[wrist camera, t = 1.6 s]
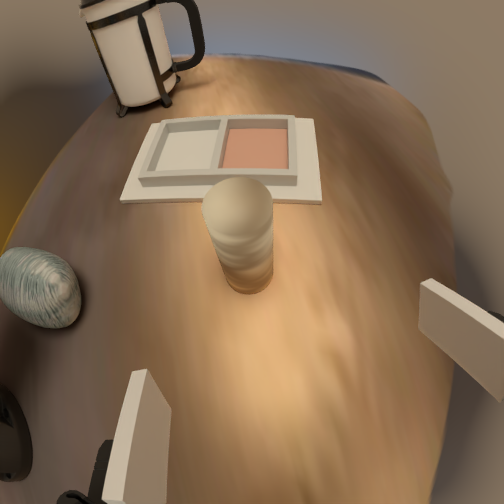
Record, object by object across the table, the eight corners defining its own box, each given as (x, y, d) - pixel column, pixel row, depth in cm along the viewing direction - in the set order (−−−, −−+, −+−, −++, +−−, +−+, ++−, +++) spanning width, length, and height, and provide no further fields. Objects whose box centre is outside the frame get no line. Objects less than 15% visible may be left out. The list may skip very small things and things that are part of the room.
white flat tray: (121, 203, 36) (113, 191, 34) (153, 127, 44) (148, 114, 41) (321, 204, 34) (324, 190, 32) (312, 122, 41) (314, 108, 39)
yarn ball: (-6, 308, 27) (-30, 256, 21) (33, 266, 34) (21, 213, 28) (61, 363, 27) (40, 318, 21) (100, 310, 34) (95, 257, 28)
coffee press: (134, 132, 44) (75, -23, 17) (106, 106, 50) (58, -11, 23) (214, 87, 48) (190, -58, 21) (173, 68, 54) (146, -46, 27)
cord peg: (223, 293, 30) (196, 233, 19) (228, 249, 32) (207, 177, 22) (271, 295, 30) (271, 235, 19) (273, 251, 32) (273, 177, 21)
